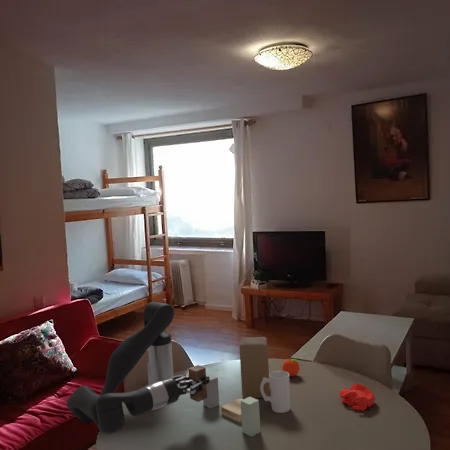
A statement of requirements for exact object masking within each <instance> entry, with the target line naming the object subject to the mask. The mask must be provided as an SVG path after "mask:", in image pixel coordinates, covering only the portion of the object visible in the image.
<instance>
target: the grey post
mask: <svg viewBox="0 0 450 450" xmlns="http://www.w3.org/2000/svg"><path fill="white" fill-rule="evenodd" d="M207 376H209V379H210V382H209V383H208V384H207V398H206V399H204V400H202V402H203V403H202V405H203V406H204V407H205V408H208V409H210V410H212V409H213V408H215V407H218V406H220V395H219V394H220V391H219V377H218V376H215V375H213V374H209V375H207Z"/></svg>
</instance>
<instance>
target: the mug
mask: <svg viewBox="0 0 450 450" xmlns="http://www.w3.org/2000/svg"><path fill="white" fill-rule="evenodd" d="M267 382H268V383H270V396H266V395H265V393H264V390H263V386H264V384H265V383H267ZM260 390H261V394H262V396H263V398H262V399H263V400H264V401H265V402H270V404H271V405H270V406H271V410H272V411H273V412H275V413H278V414H283V413H287V412H289V411H290V410H291V399H290V398H291V397H290V396H291V395H290V393H291V391H290V390H291V389H290V376H289V373H288V372H285V371H283V370H275V371H271V372H269V379H267V378H264V377H263V380H262V382H261V386H260Z"/></svg>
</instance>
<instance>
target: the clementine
mask: <svg viewBox="0 0 450 450" xmlns="http://www.w3.org/2000/svg"><path fill="white" fill-rule="evenodd" d="M299 363H300V361H299V360H298V359H295V358H287V359H285V360H284V361H283V363H282V367H281V368H282V371H285V372H288V373H289V378H290V377H295V376H296V375H298V374H299V371H300V364H301V365H302V363H300V364H299ZM302 366H303V365H302Z"/></svg>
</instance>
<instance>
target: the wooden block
mask: <svg viewBox="0 0 450 450" xmlns="http://www.w3.org/2000/svg"><path fill="white" fill-rule="evenodd" d="M268 345H269V344H268V338H267V337H266V336H253V337H252V336H249V337H248V336H246V337H244V336H243V337H241V338H240V343H239V360H240V361H239V362H240V377H241V378H240V379H241V380H240V381H241V382H240V383H241V395H242V397H243V398H242V399H245V398H248V397H252V398H255V399H264V398H263V396H262V394H261V390H260V386H261V382H262V380H263V377H264V378H267V379H269V378H270V377H269V374H270V368H269V367H270V364H269V348H268ZM263 390H264V393H265V395H266V396H271V391H270V383H268V382H267V383H265V384H264V386H263Z"/></svg>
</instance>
